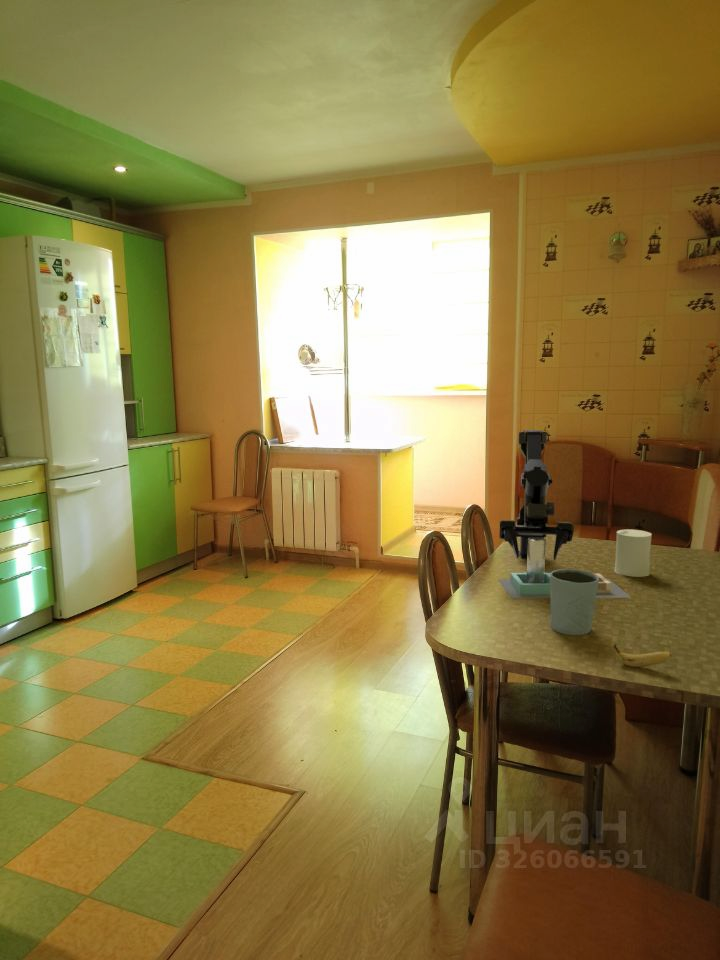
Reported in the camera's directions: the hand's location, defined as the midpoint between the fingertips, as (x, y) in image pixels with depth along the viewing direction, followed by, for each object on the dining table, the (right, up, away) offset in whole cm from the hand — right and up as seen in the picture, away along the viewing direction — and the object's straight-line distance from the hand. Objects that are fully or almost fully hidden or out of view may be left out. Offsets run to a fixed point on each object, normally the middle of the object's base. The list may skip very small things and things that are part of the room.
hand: (536, 558), depth 170 cm
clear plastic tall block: (0, -8, +3) cm, 8 cm away
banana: (+8, -16, -44) cm, 48 cm away
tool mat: (+7, -8, +2) cm, 11 cm away
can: (+31, -6, +16) cm, 36 cm away
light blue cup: (+1, -13, -24) cm, 27 cm away
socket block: (+14, -8, +3) cm, 17 cm away
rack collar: (0, -8, +2) cm, 8 cm away
